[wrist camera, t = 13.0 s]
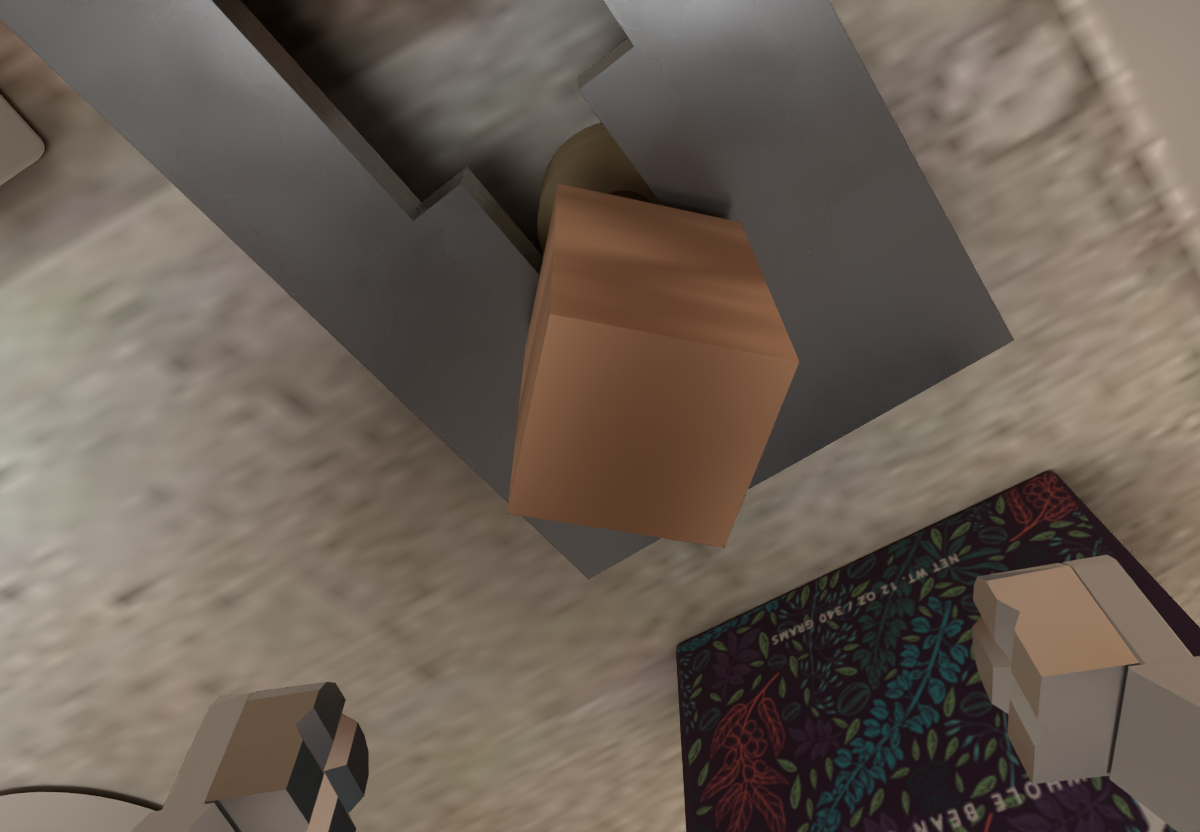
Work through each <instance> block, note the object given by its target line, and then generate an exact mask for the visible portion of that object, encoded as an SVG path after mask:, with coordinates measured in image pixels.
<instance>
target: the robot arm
mask: <svg viewBox="0 0 1200 832" xmlns="http://www.w3.org/2000/svg"><path fill="white" fill-rule="evenodd" d="M973 601H974V603H975V605H976V607H977V609H978V610H979V612H980V614H981V618H980V619H979V620H978V621H977V622H976V623H975V624H974V626H973V627H972V628H973V650H974V655H975V660H976V665H977V670H978V672H979V675H980V678H981V681H982V683H983V686H984V688H985V690H986V692H987V694H988V697H989V699H990V701H991V703H992V704H993V705H995V706H996V707H998V708H999V709H1001V710H1003V711H1004V712H1006V713H1007V714H1008V737H1009V739H1010V741H1011V743H1012V745H1013V747H1014V749H1015V751H1016V753H1017V755H1018V757H1019V759H1020V761H1021V763H1022V765H1023V767H1024V769H1025V771H1026V773H1027V775H1028V776H1029V778H1030V780H1031V782H1032V784H1038V783H1047V782H1056V781H1065V780H1074V779H1083V778H1092V777H1102V776H1110V780H1111V781H1112V782H1114V783H1115V784H1116V785H1118V786H1119V787H1120V788H1121V789H1123V790H1124V791H1125V792H1127V793H1128V794H1129V795H1130V796H1132V797H1133V798H1134V799H1136V800H1137V801H1138V802H1140V803H1141V804H1142V805H1143V806H1145V807H1146V808H1147V809H1149V810H1150V811H1151V812H1153V813H1154V814H1155V815H1156V816H1158V817H1159V818H1160V819H1162V820H1163V821H1164V822H1165V823H1167V824H1168V825H1169V826H1171V827H1172V828H1173V829H1175V830H1176V831H1177V832H1200V656H1196V657H1193V655H1192V654H1191V653H1190V652H1189V650H1188V649H1187V648H1186V647H1185V645H1184V644H1183V643H1182V642H1181V640H1180V639H1179V638H1178V637H1177V635H1176V634H1175V633H1174V632H1173V630H1172V629H1171V628H1170V627H1169V625H1168V624H1167V623H1166V622H1165V620H1164V619H1163V618H1162V617H1161V615H1160V614H1159V613H1158V612H1157V610H1156V609H1155V608H1154V607H1153V605H1152V604H1151V603H1150V602H1149V600H1148V599H1147V598H1146V597H1145V595H1144V594H1143V593H1142V592H1141V590H1140V589H1139V588H1138V587H1137V585H1136V584H1135V583H1134V582H1133V580H1132V579H1131V578H1130V577H1129V575H1128V574H1127V573H1126V572H1125V570H1124V569H1123V568H1122V567H1121V565H1120V564H1119V563H1118V562H1117V560H1116V559H1114V558H1112V557H1110V556H1108V555H1102V556H1096V557H1090V558H1085V559H1079V560H1073V561H1067V562H1063V563H1062V564H1061V563H1055V564H1049V565H1043V566H1037V567H1031V568H1025V569H1020V570H1014V571H1008V572H1002V573H996V574H990V575H984V576H979V577H977V579H976V581H975V584H974V594H973ZM344 703H345V698H344V696H343V695H342V693H341V691H340V690H339V688H338V686H337V685H336V683H331V682H323V683H315V684H308V685H300V686H293V687H285V688H278V689H270V690H263V691H256V692H253V693H246V694H238V695H231V696H223V697H219V698H218V699H217V700H216V701H215V702H214V703H213V704H212V705H211V706H210V707H209V709H208V711H207V713H206V715H205V717H204V720H203V722H202V724H201V726H200V728H199V730H198V733H197V735H196V737H195V739H194V741H193V743H192V746H191V748H190V750H189V752H188V754H187V757H186V759H185V761H184V763H183V765H182V767H181V770H180V772H179V774H178V776H177V778H176V780H175V783H174V785H173V787H172V789H171V791H170V793H169V796H168V798H167V800H166V802H165V804H164V806H163V809H162V810H160V811H154V810H151V809H148V808H145V807H142V806H138V805H135V804H131V803H127V802H123V801H119V800H114V799H109V798H104V797H98V796H92V795H84V794H75V793H61V792H31V793H18V794H10V795H4V796H0V832H355V831H356V827H355V825H354V823H353V822H352V820H351V818H350V816H349V812H350V811H351V810H352V809H353V808H354V807H355V806H356V804H357V803H358V802H359V801H360V800H361V799H362V797H363V796H364V793H365V789H366V784H367V780H368V775H369V771H368V748H367V744H366V740H365V736H364V734H363V732H362V730H361V728H360V726H359V724H358V722H356V721H354V720H353V719H351V718H349V717H347V716H345V715H344V714H342V710H343V707H344Z"/></svg>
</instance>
